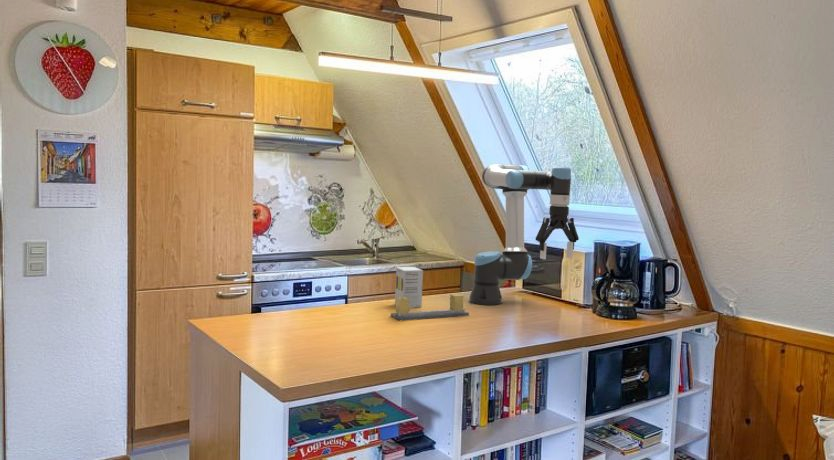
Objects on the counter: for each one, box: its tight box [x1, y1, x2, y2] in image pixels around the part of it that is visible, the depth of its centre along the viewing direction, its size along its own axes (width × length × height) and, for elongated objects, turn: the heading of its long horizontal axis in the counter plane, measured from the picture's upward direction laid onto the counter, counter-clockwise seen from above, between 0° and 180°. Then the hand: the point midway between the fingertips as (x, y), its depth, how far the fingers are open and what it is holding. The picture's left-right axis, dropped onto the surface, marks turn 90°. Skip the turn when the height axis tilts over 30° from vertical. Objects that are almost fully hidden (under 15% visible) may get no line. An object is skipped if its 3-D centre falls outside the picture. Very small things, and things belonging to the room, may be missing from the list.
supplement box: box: [394, 266, 424, 309], centre depth 279 cm, size 10×9×17 cm
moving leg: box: [395, 297, 410, 314], centre depth 256 cm, size 7×4×7 cm, turn 26°
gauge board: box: [390, 293, 470, 322], centre depth 262 cm, size 8×32×8 cm, turn 116°
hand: (556, 258), depth 254 cm, fingers open, 13 cm apart
